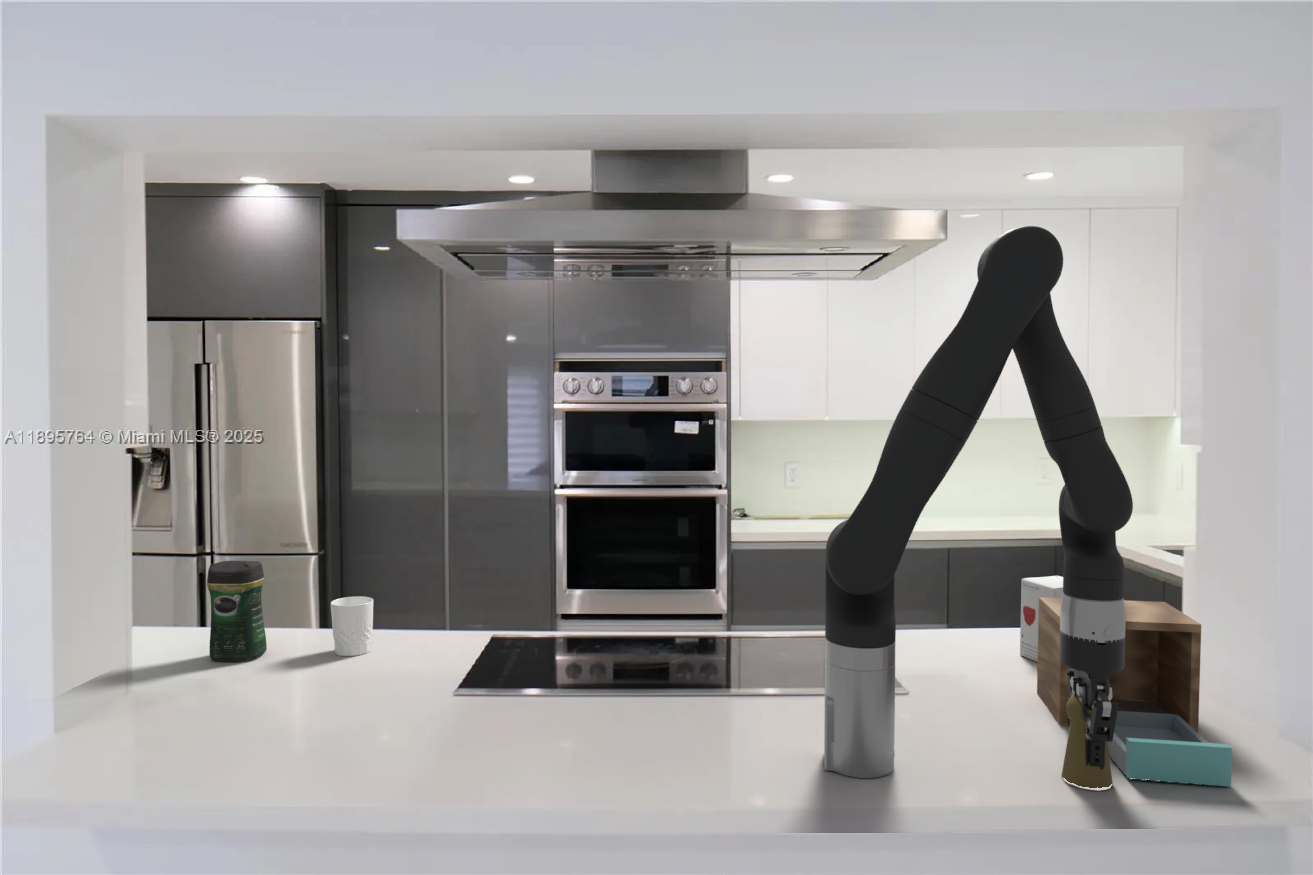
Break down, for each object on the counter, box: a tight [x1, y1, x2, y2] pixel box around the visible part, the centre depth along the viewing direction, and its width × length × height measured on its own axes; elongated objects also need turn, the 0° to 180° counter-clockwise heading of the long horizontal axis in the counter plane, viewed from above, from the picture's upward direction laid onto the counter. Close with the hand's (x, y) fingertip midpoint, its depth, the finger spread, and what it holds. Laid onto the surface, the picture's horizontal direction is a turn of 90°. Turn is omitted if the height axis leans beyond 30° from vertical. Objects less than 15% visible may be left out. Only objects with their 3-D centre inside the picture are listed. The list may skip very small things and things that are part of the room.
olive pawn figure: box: [1061, 696, 1114, 788], centre depth 114 cm, size 6×6×11 cm
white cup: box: [330, 595, 374, 657], centre depth 172 cm, size 8×8×10 cm
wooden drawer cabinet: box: [1036, 597, 1202, 733], centre depth 138 cm, size 19×14×16 cm
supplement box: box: [1019, 575, 1063, 663], centre depth 165 cm, size 9×9×15 cm
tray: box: [1108, 710, 1233, 788], centre depth 121 cm, size 12×17×5 cm
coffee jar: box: [206, 560, 267, 662], centre depth 168 cm, size 10×8×19 cm
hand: (1089, 760), depth 114 cm, fingers closed on olive pawn figure, 3 cm apart
